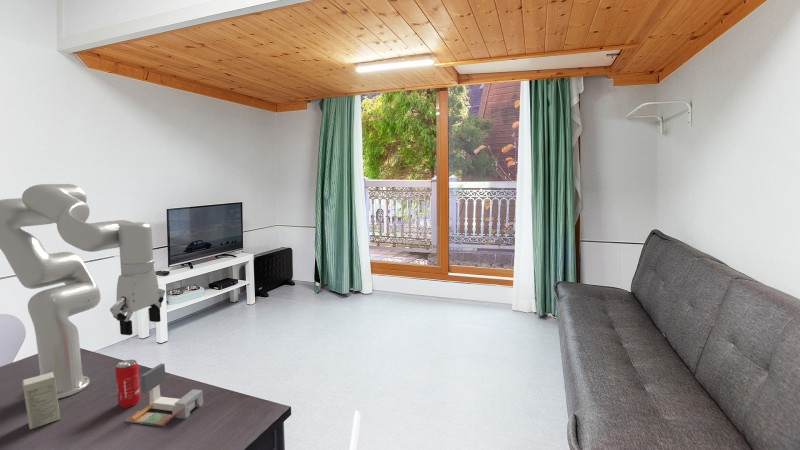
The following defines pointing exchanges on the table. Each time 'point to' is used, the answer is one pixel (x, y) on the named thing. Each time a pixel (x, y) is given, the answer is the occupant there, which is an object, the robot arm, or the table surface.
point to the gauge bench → (178, 410)
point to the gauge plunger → (156, 391)
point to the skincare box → (41, 400)
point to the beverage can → (127, 383)
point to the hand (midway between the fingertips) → (141, 327)
